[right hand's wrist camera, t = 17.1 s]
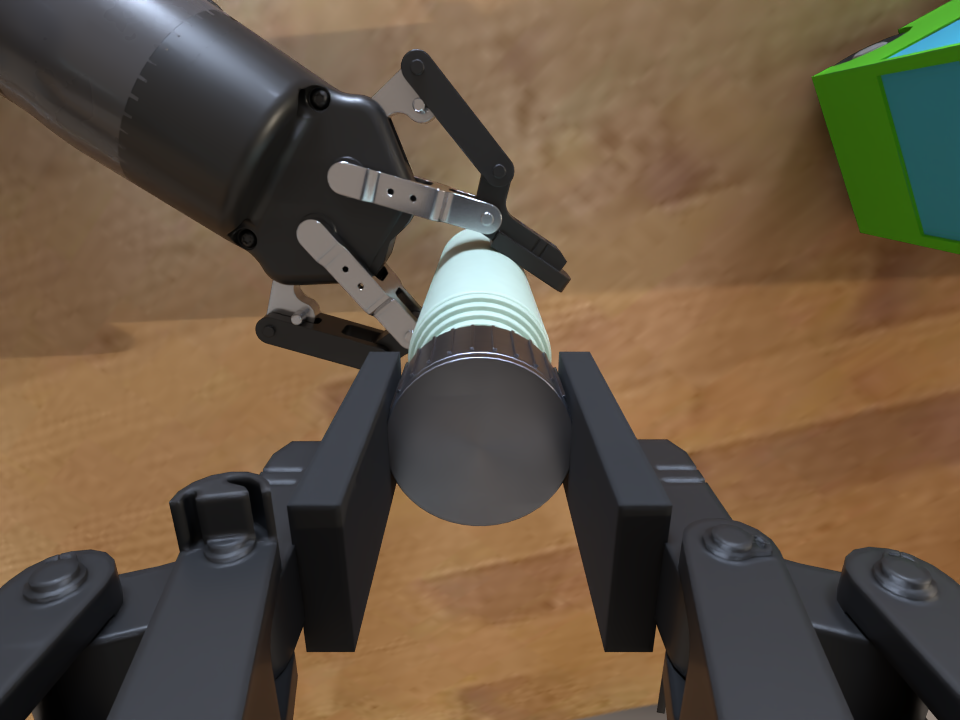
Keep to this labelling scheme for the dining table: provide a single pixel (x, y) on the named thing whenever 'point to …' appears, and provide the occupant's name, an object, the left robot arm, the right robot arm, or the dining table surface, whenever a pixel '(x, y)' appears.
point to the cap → (479, 427)
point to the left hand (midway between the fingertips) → (529, 326)
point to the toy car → (901, 131)
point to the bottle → (478, 294)
